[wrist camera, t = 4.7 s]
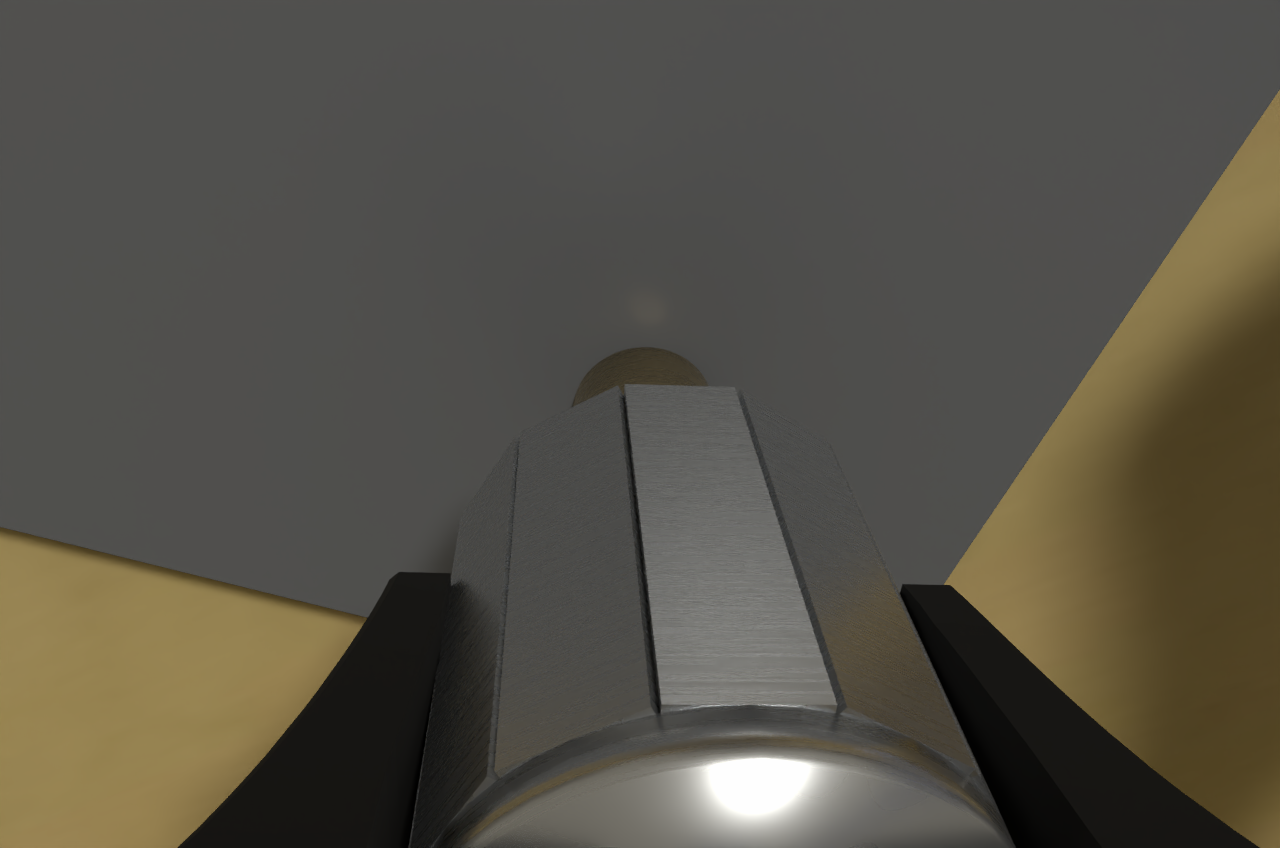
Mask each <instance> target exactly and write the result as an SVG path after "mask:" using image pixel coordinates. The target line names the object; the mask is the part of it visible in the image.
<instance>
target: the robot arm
mask: <svg viewBox="0 0 1280 848" xmlns="http://www.w3.org/2000/svg"><path fill="white" fill-rule="evenodd" d="M450 589H451V573H424V572H398V573H397V574H396V575H394V576H393V577H392V578H391V579H389V581H388V583H387V585H386V587H385V589H384V591H383V593H382V594H381V596H380V598H379V600H378V601H377V603H376V605H375V607H374V608H373V610H372V612H371V613H370V615H369V617H368V618H367V620H366V621H365V623H364V625H363V626H362V628H361V629H360V631H359V632H358V634H357V635H356V637H355V638H354V640H353V641H352V643H351V644H350V646H349V647H348V649H347V650H346V652H345V653H344V655H343V656H342V658H341V659H340V660H339V662H338V663H337V665H336V666H335V667H334V669H333V670H332V671H331V673H330V674H329V676H328V677H327V678H326V680H325V681H324V683H323V684H322V685H321V687H320V688H319V690H318V691H317V692H316V694H315V695H314V696H313V698H312V699H311V700H310V702H309V703H308V704H307V705H306V707H305V708H304V709H303V710H302V712H301V713H300V714H299V715H298V717H297V718H296V719H295V720H294V722H293V723H292V724H291V725H290V726H289V728H288V729H287V730H286V731H285V733H284V734H283V735H282V736H281V737H280V739H279V740H278V741H277V742H276V744H275V745H274V746H273V747H272V748H271V750H270V751H269V752H268V753H267V755H266V756H265V757H264V758H263V759H262V760H261V761H260V763H259V764H258V765H257V766H256V767H255V768H254V769H253V770H252V772H251V773H250V774H249V775H248V776H247V777H246V778H245V779H244V781H243V782H242V783H241V784H240V785H239V786H238V787H237V788H236V789H235V790H234V791H233V792H232V794H231V795H230V796H229V797H228V798H227V799H226V800H225V801H224V802H223V803H222V804H221V805H220V806H219V807H218V808H217V809H216V810H215V811H214V812H213V813H212V814H211V815H210V816H209V817H208V818H207V819H206V821H205V822H204V823H203V824H202V825H201V826H200V827H199V828H198V829H197V830H195V831H194V832H193V833H192V834H191V835H190V836H189V837H188V838H187V839H186V840H185V841H184V842H183V843H182V844H181V845H180V846H179V847H178V848H409V843H410V837H411V830H412V824H413V818H414V811H415V805H416V798H417V792H418V786H419V779H420V773H421V767H422V760H423V754H424V747H425V741H426V735H427V728H428V722H429V716H430V709H431V703H432V696H433V690H434V684H435V677H436V671H437V666H438V663H439V658H440V652H441V646H442V640H443V634H444V628H445V621H446V615H447V608H448V602H449V595H450ZM900 595H901V597H902V600H903V602H904V604H905V606H906V608H907V610H908V613H909V615H910V617H911V619H912V621H913V624H914V626H915V628H916V630H917V632H918V635H919V637H920V639H921V641H922V643H923V645H924V648H925V650H926V652H927V654H928V656H929V659H930V661H931V663H932V665H933V667H934V670H935V672H936V674H937V676H938V678H939V680H940V683H941V685H942V687H943V689H944V691H945V694H946V696H947V698H948V700H949V702H950V705H951V707H952V709H953V711H954V713H955V716H956V718H957V720H958V722H959V724H960V726H961V729H962V731H963V733H964V735H965V737H966V740H967V742H968V744H969V746H970V748H971V751H972V753H973V755H974V757H975V759H976V761H977V764H978V766H979V768H980V770H981V772H982V775H983V777H984V779H985V781H986V783H987V786H988V788H989V790H990V792H991V794H992V796H993V799H994V801H995V803H996V805H997V807H998V810H999V812H1000V814H1001V816H1002V818H1003V821H1004V823H1005V825H1006V827H1007V829H1008V832H1009V834H1010V836H1011V838H1012V840H1013V842H1014V845H1015V847H1016V848H1259V847H1258V846H1256V845H1255V844H1254V843H1252V842H1251V841H1249V840H1248V839H1246V838H1245V837H1243V836H1242V835H1240V834H1239V833H1237V832H1236V831H1235V830H1233V829H1232V828H1230V827H1229V826H1228V825H1226V824H1225V823H1224V822H1222V821H1221V820H1220V819H1218V818H1217V817H1215V816H1214V815H1213V814H1211V813H1210V812H1209V811H1207V810H1206V809H1204V808H1203V807H1202V806H1200V805H1199V804H1198V803H1196V802H1195V801H1194V800H1192V799H1191V798H1189V797H1188V796H1187V795H1185V794H1184V793H1183V792H1181V791H1180V790H1179V789H1177V788H1176V787H1175V786H1173V785H1172V784H1171V783H1170V782H1168V781H1167V780H1166V779H1164V778H1163V777H1162V776H1161V775H1159V774H1158V773H1157V772H1156V771H1154V770H1153V769H1152V768H1151V767H1149V766H1148V765H1147V764H1146V763H1145V762H1143V761H1142V760H1141V759H1140V758H1139V757H1137V756H1136V755H1135V754H1134V753H1133V752H1131V751H1130V750H1129V749H1128V748H1127V747H1125V746H1124V745H1123V744H1122V743H1121V742H1119V741H1118V740H1117V739H1116V738H1115V737H1113V736H1112V735H1111V734H1110V733H1109V732H1107V731H1106V730H1105V729H1104V728H1103V727H1102V726H1101V725H1099V724H1098V723H1097V722H1096V721H1095V720H1094V719H1093V718H1091V717H1090V716H1089V715H1088V714H1087V713H1086V712H1085V711H1083V710H1082V709H1081V708H1080V707H1079V706H1078V705H1077V704H1076V703H1075V702H1074V701H1072V700H1071V699H1070V698H1069V697H1068V696H1067V695H1066V694H1065V693H1064V692H1063V691H1061V690H1060V689H1059V688H1058V687H1057V686H1056V685H1055V684H1054V683H1053V682H1052V681H1051V680H1050V679H1049V678H1047V677H1046V676H1045V675H1044V674H1043V673H1042V672H1041V671H1040V670H1039V669H1038V668H1037V667H1036V666H1035V665H1034V664H1033V663H1032V662H1030V661H1029V660H1028V659H1027V658H1026V657H1025V656H1024V655H1023V654H1022V653H1021V652H1020V651H1019V650H1018V649H1017V648H1016V647H1015V646H1014V645H1013V644H1012V643H1011V642H1010V641H1009V640H1008V639H1007V638H1006V637H1004V636H1003V635H1002V634H1001V633H1000V632H999V631H998V630H997V629H996V628H995V627H994V626H993V625H992V624H991V623H990V622H989V621H988V620H987V619H986V618H985V617H984V616H983V615H982V614H981V613H980V612H979V611H978V610H976V609H975V608H974V607H973V606H972V605H971V604H970V603H969V602H968V601H967V600H966V599H965V598H964V597H963V596H962V595H960V594H959V593H958V592H957V591H956V590H955V589H954V588H953V587H952V586H950V585H922V584H902V587H901V591H900Z"/></svg>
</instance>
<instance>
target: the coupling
mask: <svg viewBox="0 0 1280 848" xmlns="http://www.w3.org/2000/svg"><path fill="white" fill-rule="evenodd" d="M409 848H1016V847H1015V845H1014V842H1013V840H1012V838H1011V836H1010V834H1009V832H1008V829H1007V827H1006V825H1005V823H1004V821H1003V818H1002V816H1001V814H1000V812H999V810H998V807H997V805H996V803H995V801H994V799H993V796H992V794H991V792H990V790H989V788H988V786H987V783H986V781H985V779H984V777H983V775H982V772H981V770H980V768H979V766H978V764H977V761H976V759H975V757H974V755H973V753H972V751H971V748H970V746H969V744H968V742H967V740H966V737H965V735H964V733H963V731H962V729H961V726H960V724H959V722H958V720H957V718H956V716H955V713H954V711H953V709H952V707H951V705H950V702H949V700H948V698H947V696H946V694H945V691H944V689H943V687H942V685H941V683H940V680H939V678H938V676H937V674H936V672H935V670H934V667H933V665H932V663H931V661H930V659H929V656H928V654H927V652H926V650H925V648H924V645H923V643H922V641H921V639H920V637H919V635H918V632H917V630H916V628H915V626H914V624H913V621H912V619H911V617H910V615H909V613H908V610H907V608H906V606H905V604H904V602H903V600H902V597H901V595H900V593H899V591H898V589H897V586H896V584H895V582H894V580H893V578H892V575H891V573H890V571H889V569H888V567H887V564H886V562H885V560H884V558H883V556H882V554H881V551H880V549H879V547H878V545H877V543H876V540H875V538H874V536H873V534H872V532H871V529H870V527H869V525H868V523H867V521H866V519H865V516H864V514H863V512H862V510H861V508H860V506H859V504H858V501H857V499H856V497H855V495H854V493H853V491H852V489H851V487H850V484H849V482H848V480H847V478H846V476H845V474H844V472H843V469H842V467H841V465H840V463H839V461H838V459H837V457H836V455H835V452H834V450H833V448H832V446H831V444H830V443H829V444H828V442H827V439H826V438H824V437H822V436H820V435H819V434H817V433H815V432H814V431H812V430H810V429H808V428H807V427H805V426H803V425H802V424H800V423H798V422H797V421H795V420H793V419H791V418H790V417H788V416H786V415H785V414H783V413H781V412H780V411H778V410H776V409H774V408H773V407H771V406H769V405H768V404H766V403H764V402H763V401H761V400H759V399H757V398H756V397H754V396H752V395H751V394H749V393H747V392H746V391H744V390H742V389H741V390H740V391H739V392H738V393H737V392H736V389H735V387H715V386H679V385H644V384H625V385H624V395H623V393H622V392H621V390H620V388H619V387H618V386H616V387H613V388H611V389H609V390H607V391H605V392H603V393H601V394H599V395H597V396H594V397H592V398H590V399H588V400H586V401H584V402H582V403H580V404H578V405H575V406H573V407H571V408H569V409H567V410H565V411H563V412H561V413H559V414H556V415H554V416H552V417H550V418H548V419H546V420H544V421H542V422H540V423H537V424H535V425H533V426H531V427H529V428H527V429H525V430H523V431H521V432H520V438H519V437H517V436H515V437H514V438H513V440H512V441H511V443H510V444H509V446H508V447H507V449H506V450H505V452H504V453H503V455H502V456H501V457H500V459H499V460H498V462H497V463H496V465H495V466H494V468H493V469H492V471H491V472H490V473H489V475H488V476H487V478H486V479H485V481H484V482H483V484H482V485H481V487H480V488H479V490H478V491H477V492H476V494H475V495H474V497H473V498H472V500H471V501H470V503H469V504H468V506H467V507H466V508H465V510H464V511H463V513H462V517H461V519H460V524H459V531H458V537H457V543H456V550H455V556H454V563H453V569H452V575H451V589H450V595H449V602H448V608H447V615H446V621H445V628H444V634H443V640H442V646H441V652H440V658H439V663H438V666H437V671H436V677H435V684H434V690H433V696H432V703H431V709H430V716H429V722H428V728H427V735H426V741H425V747H424V754H423V760H422V767H421V773H420V779H419V786H418V792H417V798H416V805H415V811H414V818H413V824H412V830H411V837H410V843H409Z"/></svg>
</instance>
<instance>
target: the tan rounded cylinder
mask: <svg viewBox="0 0 1280 848" xmlns="http://www.w3.org/2000/svg"><path fill="white" fill-rule="evenodd" d="M625 384H644V385H679V386H708V383H707V382H706V380H705V378H704V376H703V375H702V374H701V372H700V371H699V370H698V369H697V368H696V367H695V366H694V365H693V364H692V363H691V362H689V361H688V360H687V359H685V358H684V357H682V356H680V355H678V354H676V353H673V352H671V351H668V350H664V349H659V348H652V347H640V348H631V349H627V350H623V351H620V352H617V353H614V354H612V355H610V356H608V357H606V358H605V359H603V360H602V361H600V362H598V363H597V364H596V365H595V366H594V367H593V368H592V369H591V370H590V371H589V372H588V373H587V374H586V375H585V377H584V378H583V380H582V381H581V383H580V385H579V387H578V389H577V392H576V395H575V398H574V404H573V406H575V405H578V404H580V403H582V402H584V401H586V400H588V399H590V398H592V397H594V396H597V395H599V394H601V393H603V392H605V391H607V390H609V389H611V388H613V387H616V386H618V387H619V388H620V390H621V392H622V393H623V395H624V385H625Z"/></svg>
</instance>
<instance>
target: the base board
mask: <svg viewBox="0 0 1280 848" xmlns="http://www.w3.org/2000/svg"><path fill="white" fill-rule="evenodd" d="M1279 90H1280V0H0V527H3V528H7V529H11V530H15V531H19V532H23V533H27V534H31V535H35V536H39V537H43V538H47V539H51V540H55V541H59V542H63V543H67V544H72V545H76V546H80V547H84V548H88V549H92V550H96V551H100V552H104V553H108V554H112V555H116V556H120V557H124V558H128V559H132V560H136V561H140V562H144V563H148V564H152V565H157V566H161V567H165V568H169V569H173V570H177V571H181V572H185V573H189V574H193V575H197V576H201V577H205V578H209V579H213V580H217V581H221V582H225V583H229V584H233V585H237V586H241V587H246V588H250V589H254V590H258V591H262V592H266V593H270V594H274V595H278V596H282V597H286V598H290V599H294V600H298V601H302V602H306V603H310V604H314V605H318V606H322V607H326V608H331V609H335V610H339V611H343V612H347V613H351V614H355V615H359V616H363V617H367V618H368V617H369V615H370V613H371V612H372V610H373V608H374V607H375V605H376V603H377V601H378V600H379V598H380V596H381V594H382V593H383V591H384V589H385V587H386V585H387V583H388V581H389V579H391V578H392V577H393V576H394V575H396V574H397V573H398V572H424V573H451V575H452V569H453V563H454V556H455V550H456V543H457V537H458V531H459V524H460V519H461V517H462V513H463V511H464V510H465V508H466V507H467V506H468V504H469V503H470V501H471V500H472V498H473V497H474V495H475V494H476V492H477V491H478V490H479V488H480V487H481V485H482V484H483V482H484V481H485V479H486V478H487V476H488V475H489V473H490V472H491V471H492V469H493V468H494V466H495V465H496V463H497V462H498V460H499V459H500V457H501V456H502V455H503V453H504V452H505V450H506V449H507V447H508V446H509V444H510V443H511V441H512V440H513V438H514V437H515V436H517V437H519V438H520V432H521V431H523V430H525V429H527V428H529V427H531V426H533V425H535V424H537V423H540V422H542V421H544V420H546V419H548V418H550V417H552V416H554V415H556V414H559V413H561V412H563V411H565V410H567V409H569V408H571V407H573V404H574V398H575V395H576V392H577V389H578V387H579V385H580V383H581V381H582V380H583V378H584V377H585V375H586V374H587V373H588V372H589V371H590V370H591V369H592V368H593V367H594V366H595V365H596V364H597V363H598V362H600V361H602V360H603V359H605V358H606V357H608V356H610V355H612V354H614V353H617V352H620V351H623V350H627V349H631V348H640V347H652V348H659V349H664V350H668V351H671V352H673V353H676V354H678V355H680V356H682V357H684V358H685V359H687V360H688V361H689V362H691V363H692V364H693V365H694V366H695V367H696V368H697V369H698V370H699V371H700V372H701V374H702V375H703V376H704V378H705V380H706V382H707V383H708V386H715V387H735V389H736V392H737V393H738V392H739V391H740V390H741V389H742V390H744V391H746V392H747V393H749V394H751V395H752V396H754V397H756V398H757V399H759V400H761V401H763V402H764V403H766V404H768V405H769V406H771V407H773V408H774V409H776V410H778V411H780V412H781V413H783V414H785V415H786V416H788V417H790V418H791V419H793V420H795V421H797V422H798V423H800V424H802V425H803V426H805V427H807V428H808V429H810V430H812V431H814V432H815V433H817V434H819V435H820V436H822V437H824V438H826V439H827V442H828V444H829V443H830V444H831V446H832V448H833V450H834V452H835V455H836V457H837V459H838V461H839V463H840V465H841V467H842V469H843V472H844V474H845V476H846V478H847V480H848V482H849V484H850V487H851V489H852V491H853V493H854V495H855V497H856V499H857V501H858V504H859V506H860V508H861V510H862V512H863V514H864V516H865V519H866V521H867V523H868V525H869V527H870V529H871V532H872V534H873V536H874V538H875V540H876V543H877V545H878V547H879V549H880V551H881V554H882V556H883V558H884V560H885V562H886V564H887V567H888V569H889V571H890V573H891V575H892V578H893V580H894V582H895V584H896V586H897V589H898V591H899V593H900V591H901V587H902V584H922V585H943V584H944V583H945V581H946V580H947V578H948V577H949V576H950V574H951V573H952V571H953V570H954V568H955V567H956V565H957V564H958V562H959V561H960V559H961V558H962V556H963V555H964V553H965V552H966V551H967V549H968V548H969V546H970V545H971V543H972V542H973V540H974V539H975V537H976V536H977V534H978V533H979V531H980V530H981V528H982V527H983V525H984V524H985V523H986V521H987V520H988V518H989V517H990V515H991V514H992V512H993V511H994V509H995V508H996V506H997V505H998V503H999V502H1000V500H1001V499H1002V497H1003V496H1004V495H1005V493H1006V492H1007V490H1008V489H1009V487H1010V486H1011V484H1012V483H1013V481H1014V480H1015V478H1016V477H1017V475H1018V474H1019V472H1020V471H1021V470H1022V468H1023V467H1024V465H1025V464H1026V462H1027V461H1028V459H1029V458H1030V456H1031V455H1032V453H1033V452H1034V450H1035V449H1036V447H1037V446H1038V444H1039V443H1040V442H1041V440H1042V439H1043V437H1044V436H1045V434H1046V433H1047V431H1048V430H1049V428H1050V427H1051V425H1052V424H1053V422H1054V421H1055V419H1056V418H1057V416H1058V415H1059V414H1060V412H1061V411H1062V409H1063V408H1064V406H1065V405H1066V403H1067V402H1068V400H1069V399H1070V397H1071V396H1072V394H1073V393H1074V391H1075V390H1076V389H1077V387H1078V386H1079V384H1080V383H1081V381H1082V380H1083V378H1084V377H1085V375H1086V374H1087V372H1088V371H1089V369H1090V368H1091V366H1092V365H1093V363H1094V362H1095V361H1096V359H1097V358H1098V356H1099V355H1100V353H1101V352H1102V350H1103V349H1104V347H1105V346H1106V344H1107V343H1108V341H1109V340H1110V338H1111V337H1112V336H1113V334H1114V333H1115V331H1116V330H1117V328H1118V327H1119V325H1120V324H1121V322H1122V321H1123V319H1124V318H1125V316H1126V315H1127V313H1128V312H1129V310H1130V309H1131V308H1132V306H1133V305H1134V303H1135V302H1136V300H1137V299H1138V297H1139V296H1140V294H1141V293H1142V291H1143V290H1144V288H1145V287H1146V285H1147V284H1148V282H1149V281H1150V280H1151V278H1152V277H1153V275H1154V274H1155V272H1156V271H1157V269H1158V268H1159V266H1160V265H1161V263H1162V262H1163V260H1164V259H1165V257H1166V256H1167V255H1168V253H1169V252H1170V250H1171V249H1172V247H1173V246H1174V244H1175V243H1176V241H1177V240H1178V238H1179V237H1180V235H1181V234H1182V232H1183V231H1184V229H1185V228H1186V227H1187V225H1188V224H1189V222H1190V221H1191V219H1192V218H1193V216H1194V215H1195V213H1196V212H1197V210H1198V209H1199V207H1200V206H1201V204H1202V203H1203V202H1204V200H1205V199H1206V197H1207V196H1208V194H1209V193H1210V191H1211V190H1212V188H1213V187H1214V185H1215V184H1216V182H1217V181H1218V179H1219V178H1220V176H1221V175H1222V174H1223V172H1224V171H1225V169H1226V168H1227V166H1228V165H1229V163H1230V162H1231V160H1232V159H1233V157H1234V156H1235V154H1236V153H1237V151H1238V150H1239V148H1240V147H1241V146H1242V144H1243V143H1244V141H1245V140H1246V138H1247V137H1248V135H1249V134H1250V132H1251V131H1252V129H1253V128H1254V126H1255V125H1256V123H1257V122H1258V121H1259V119H1260V118H1261V116H1262V115H1263V113H1264V112H1265V110H1266V109H1267V107H1268V106H1269V104H1270V103H1271V101H1272V100H1273V98H1274V97H1275V95H1276V94H1277V93H1278V91H1279Z"/></svg>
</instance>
